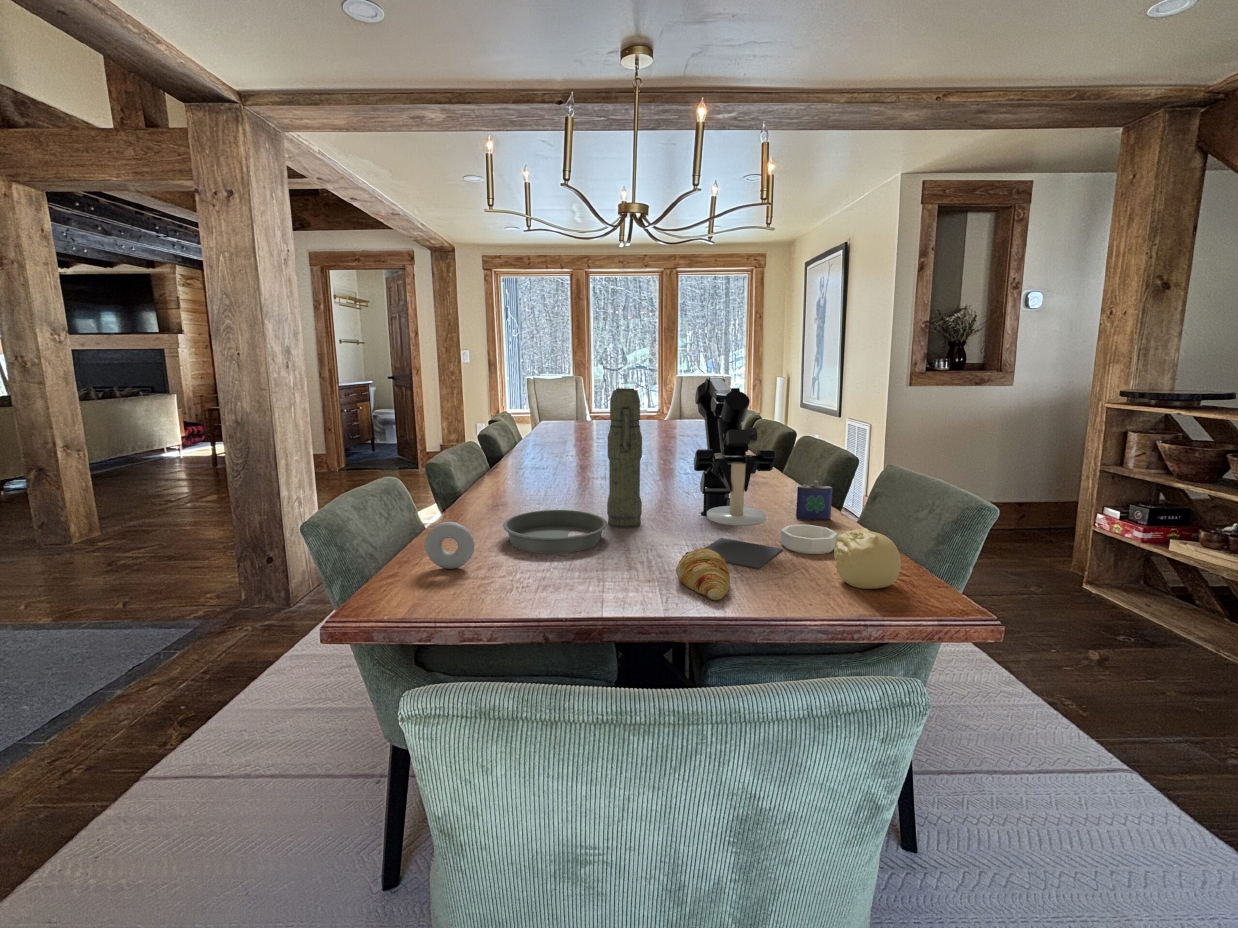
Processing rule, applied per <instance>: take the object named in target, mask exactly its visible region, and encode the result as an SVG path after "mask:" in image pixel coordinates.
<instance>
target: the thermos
mask: <svg viewBox="0 0 1238 928" xmlns="http://www.w3.org/2000/svg"><path fill="white" fill-rule="evenodd" d="M609 420H610V425H609V432H608V434H607V458H608V461H609V462H608V463H609V468H608V469H609V471H608V472H609V478H608V479H609V482H608V483H609V494H608V498H607V502H606V504H607V507H606V509H607V517H608V519H607V525H608V526H611V527H613V528H619V529H631V528H636V527H639V526H641V524H642V521H641V520H642V517H641V516H642V514H643V513H642V511H643V510H642V508H643V505H642V504H643V503H642V499H641V493H640V491H641V488H640V487H641V486H640V485H641V459H642V456H643V436H642V431H641V425H640V420H641V399H640V396H639V392H638V390H636V389H635V388H630V387H629V388H628V387H627V388H626V387H625V388H622V387H621V388H616V389H615V390H614V389H613V390H612V393H611V397H610V400H609Z"/></svg>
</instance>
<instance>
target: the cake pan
mask: <svg viewBox="0 0 1238 928" xmlns="http://www.w3.org/2000/svg"><path fill="white" fill-rule="evenodd" d="M607 526H608V520H606V519H605V518H603V516H600V515H598V514H595V513H591V512H587V511H582V510H571V509H545V510H537V511H536V510H535V511H528V512H523V513H519V514H516V515H514V516H511V517H509V518H507V519H506V520H504V521H503V524H502V527H503V530H504V531H505V532H506V533H507V534H508V537H509V541H510V544H511V545H512V546H513V547H514V548H516V549H518V550H521V551H525V552H528V553H529V552H530V553H534V554H535V553H537V554H566V553H573V552H579V551H584V550H587V549H590V548H592V547H594V546H596V545H597V544H598V543H599V542H600V540H601V536H602V532H603V531H604V530H605V529H606V528H607ZM577 530H582V531H587V532H586V533H584V534H583V533H582V534H577V535H571V536H570V535H569V534H570V533H572V532H574V531H577Z"/></svg>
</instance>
